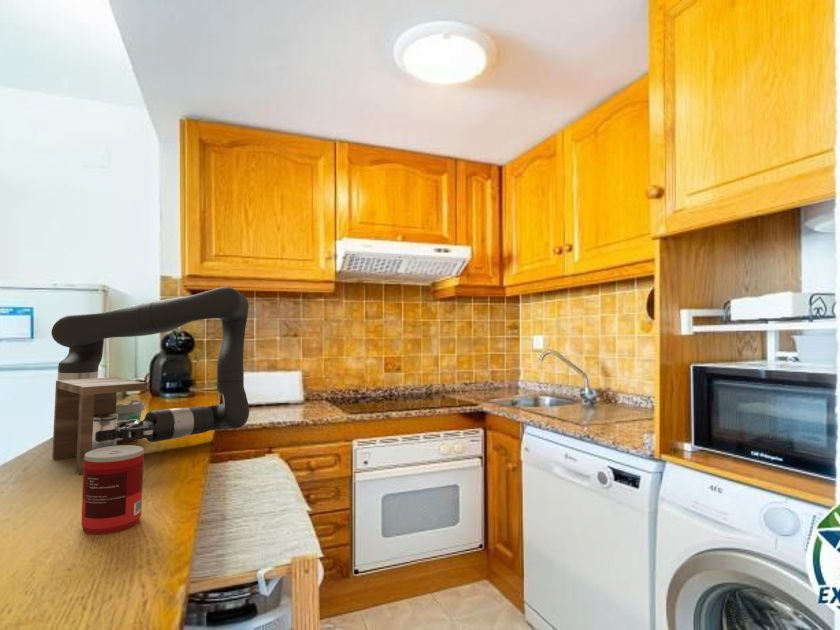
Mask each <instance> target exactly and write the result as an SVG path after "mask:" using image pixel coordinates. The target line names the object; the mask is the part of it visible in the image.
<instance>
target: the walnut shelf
mask: <svg viewBox="0 0 840 630" xmlns="http://www.w3.org/2000/svg"><path fill="white" fill-rule="evenodd" d="M147 384H148V383H147V382H143V381H139V380H138V381H137V380H133V379H127V378H121V377H117V376H115V377H98V378H93V379H75V380H58V379H57V380H55V392H54V393H55V395H54V413H53V414H54V415H53V434H52V436H53V437H52V452H51V454H52V457H51V459H52V460H54V461H55V460H61V459H62V460H63V459H67V458H72V457H76V464H75V466H76V467H75V468H76V469H75V473H76V474H77V475H83V469H84V458H85V454H86V453H87V452H89V451H91V450H92V437H93V415H96V414H105V413H116V405H117V396H118V393H124V392H125V393H126V392H128V393H129V392H141V391H147Z"/></svg>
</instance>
